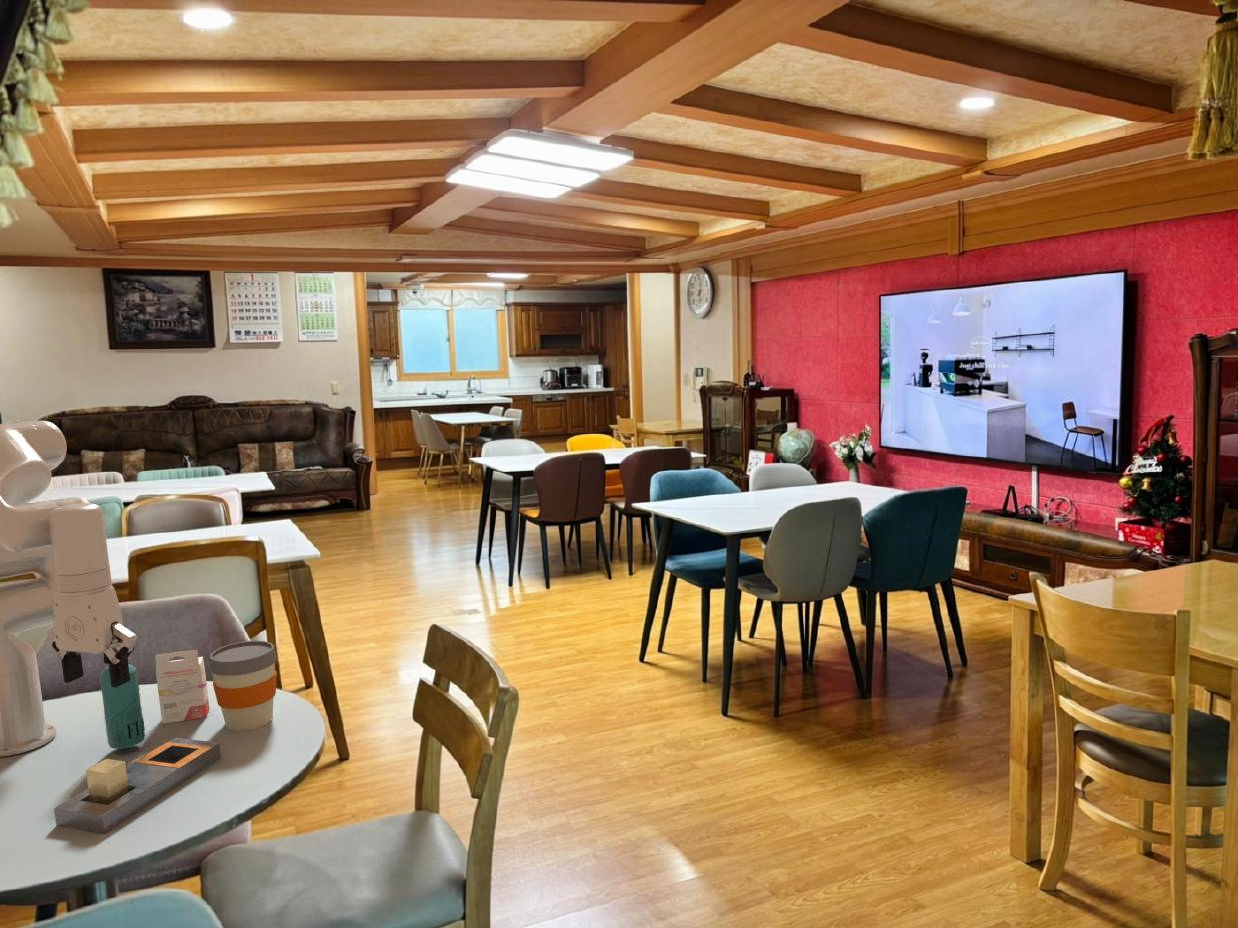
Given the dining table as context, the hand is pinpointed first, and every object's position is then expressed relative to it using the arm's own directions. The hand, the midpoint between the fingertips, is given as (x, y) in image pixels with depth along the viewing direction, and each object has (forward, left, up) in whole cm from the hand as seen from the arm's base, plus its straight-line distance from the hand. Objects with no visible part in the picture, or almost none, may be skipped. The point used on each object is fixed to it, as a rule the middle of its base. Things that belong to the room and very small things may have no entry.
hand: (97, 681), depth 146 cm
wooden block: (0, 0, -22) cm, 23 cm away
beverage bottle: (-16, +19, -23) cm, 34 cm away
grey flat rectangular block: (0, +7, -22) cm, 23 cm away
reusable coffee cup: (-1, +35, -23) cm, 41 cm away
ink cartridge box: (-16, +34, -23) cm, 44 cm away
